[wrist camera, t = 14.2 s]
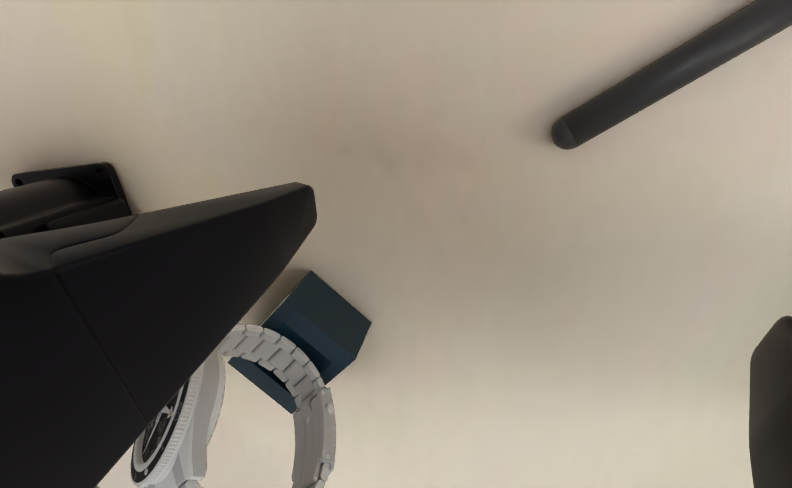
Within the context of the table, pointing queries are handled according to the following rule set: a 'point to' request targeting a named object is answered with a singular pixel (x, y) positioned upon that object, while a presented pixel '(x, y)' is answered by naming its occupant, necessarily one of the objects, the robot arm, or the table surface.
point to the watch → (275, 375)
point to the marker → (674, 71)
